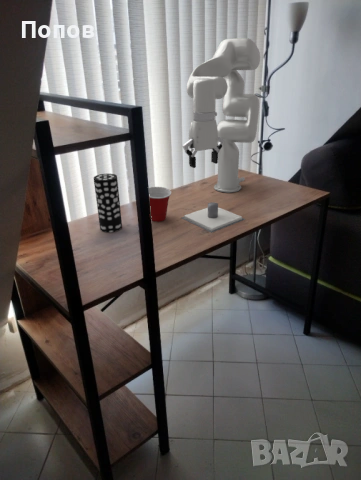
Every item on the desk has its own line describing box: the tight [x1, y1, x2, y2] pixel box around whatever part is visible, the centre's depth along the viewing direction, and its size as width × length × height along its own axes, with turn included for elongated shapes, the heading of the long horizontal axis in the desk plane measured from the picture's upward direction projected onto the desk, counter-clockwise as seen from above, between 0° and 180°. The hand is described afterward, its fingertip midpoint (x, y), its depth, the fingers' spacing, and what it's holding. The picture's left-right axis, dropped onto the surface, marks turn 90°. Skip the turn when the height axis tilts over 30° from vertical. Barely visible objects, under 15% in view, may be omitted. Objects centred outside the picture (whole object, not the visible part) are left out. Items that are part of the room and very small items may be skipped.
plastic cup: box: [148, 186, 172, 223], centre depth 150 cm, size 11×11×12 cm
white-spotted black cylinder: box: [93, 173, 123, 233], centre depth 142 cm, size 8×8×20 cm
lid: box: [183, 201, 243, 231], centre depth 150 cm, size 16×16×6 cm
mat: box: [180, 216, 246, 233], centre depth 151 cm, size 18×18×1 cm
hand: (203, 164), depth 142 cm, fingers open, 9 cm apart
